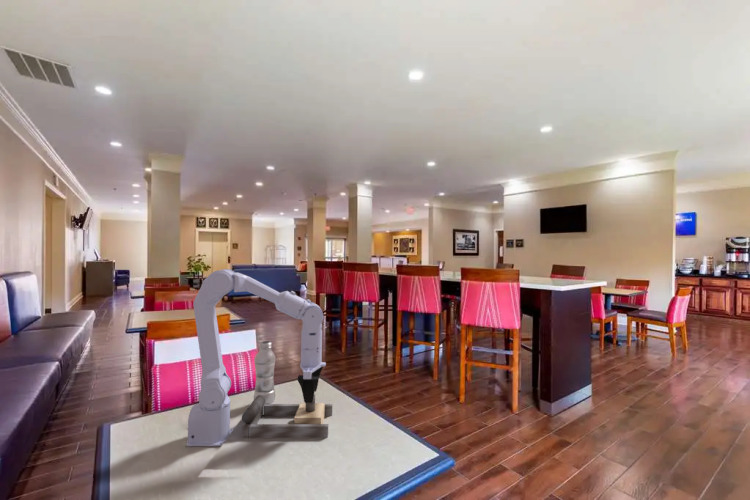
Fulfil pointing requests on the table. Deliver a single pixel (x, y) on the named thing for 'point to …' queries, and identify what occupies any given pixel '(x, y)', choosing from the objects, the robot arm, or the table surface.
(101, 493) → the table surface
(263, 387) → the plastic bottle
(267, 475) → the table surface
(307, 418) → the tan wooden block
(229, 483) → the table surface
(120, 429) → the table surface
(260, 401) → the bay
